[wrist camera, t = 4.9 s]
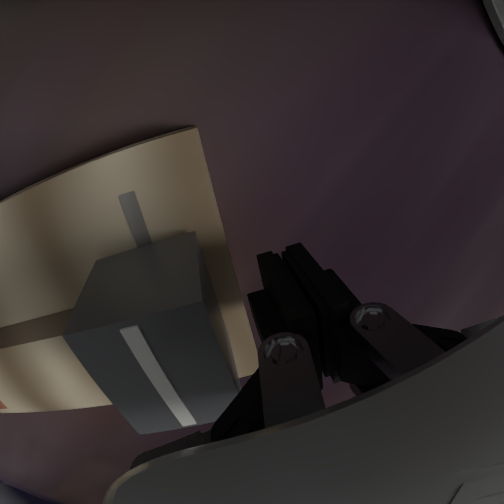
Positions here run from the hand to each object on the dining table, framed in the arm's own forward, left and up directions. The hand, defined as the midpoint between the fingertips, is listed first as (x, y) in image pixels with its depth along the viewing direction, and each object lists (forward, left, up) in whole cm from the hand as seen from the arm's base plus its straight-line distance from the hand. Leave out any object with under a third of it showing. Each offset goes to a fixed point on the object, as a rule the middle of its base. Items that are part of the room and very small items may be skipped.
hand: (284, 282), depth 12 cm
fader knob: (+5, 0, -1) cm, 5 cm away
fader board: (+15, 0, -3) cm, 15 cm away
